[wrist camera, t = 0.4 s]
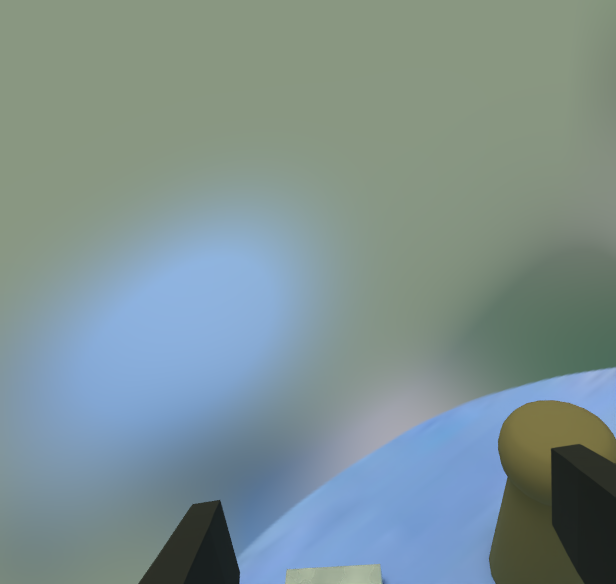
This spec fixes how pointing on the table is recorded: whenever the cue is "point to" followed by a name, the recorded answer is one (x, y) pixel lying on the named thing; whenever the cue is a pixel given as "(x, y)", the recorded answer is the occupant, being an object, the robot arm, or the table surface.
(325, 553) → the table surface
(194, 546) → the robot arm
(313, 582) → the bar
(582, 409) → the cork
